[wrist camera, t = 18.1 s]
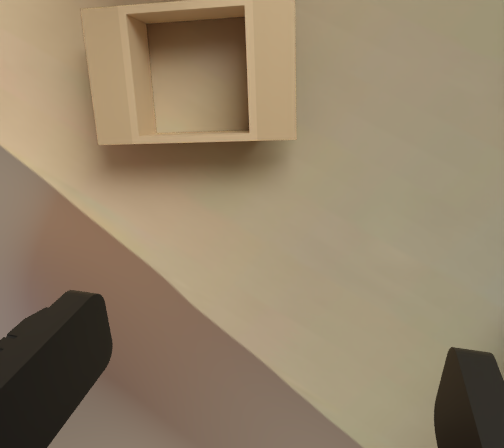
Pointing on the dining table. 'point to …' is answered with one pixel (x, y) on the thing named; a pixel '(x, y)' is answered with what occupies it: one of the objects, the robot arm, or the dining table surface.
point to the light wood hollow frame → (139, 72)
